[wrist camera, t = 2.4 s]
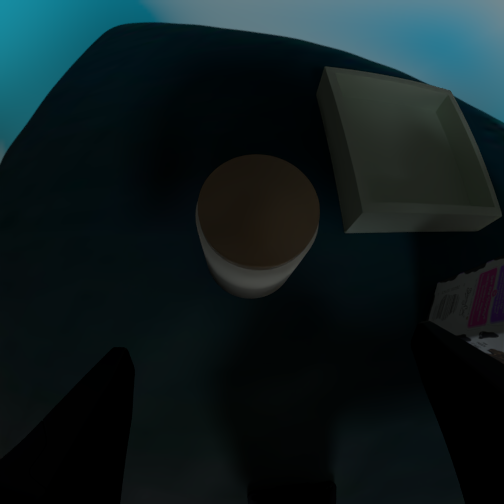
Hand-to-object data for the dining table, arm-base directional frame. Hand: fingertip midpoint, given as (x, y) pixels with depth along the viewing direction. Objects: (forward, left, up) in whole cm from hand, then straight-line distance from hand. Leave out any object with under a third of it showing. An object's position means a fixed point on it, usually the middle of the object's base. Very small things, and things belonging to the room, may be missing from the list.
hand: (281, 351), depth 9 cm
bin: (+16, -15, -13) cm, 26 cm away
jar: (+7, 0, -13) cm, 15 cm away
